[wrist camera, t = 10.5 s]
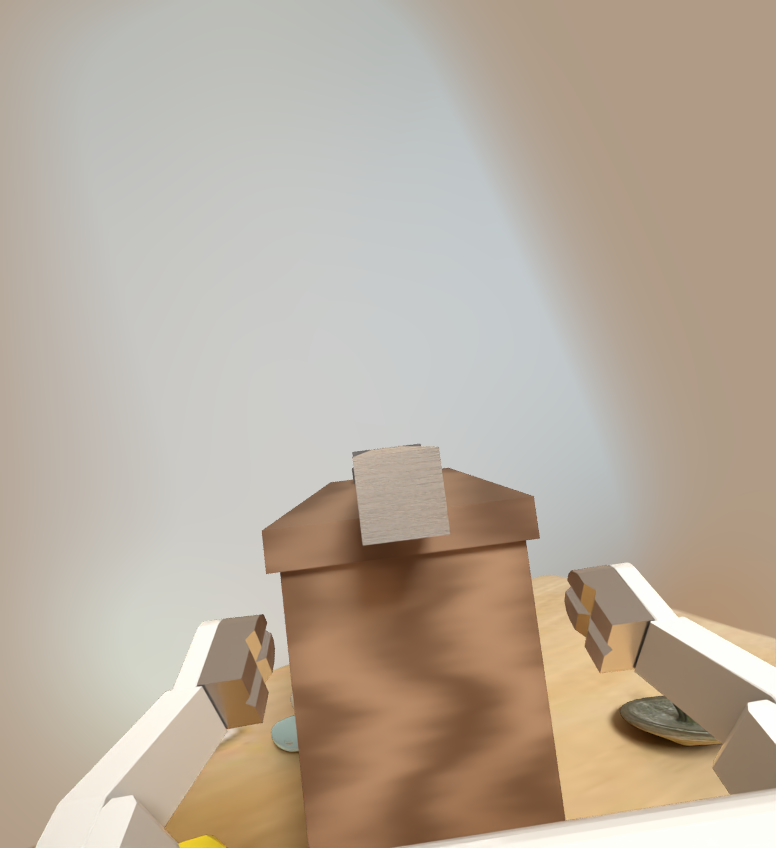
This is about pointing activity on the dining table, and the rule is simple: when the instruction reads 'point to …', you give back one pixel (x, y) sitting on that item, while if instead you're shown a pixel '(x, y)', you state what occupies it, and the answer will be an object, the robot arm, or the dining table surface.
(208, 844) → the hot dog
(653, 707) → the lid
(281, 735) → the pacifier
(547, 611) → the dining table surface
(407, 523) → the aluminium bar
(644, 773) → the dining table surface
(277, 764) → the dining table surface
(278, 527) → the walnut stand
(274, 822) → the dining table surface
